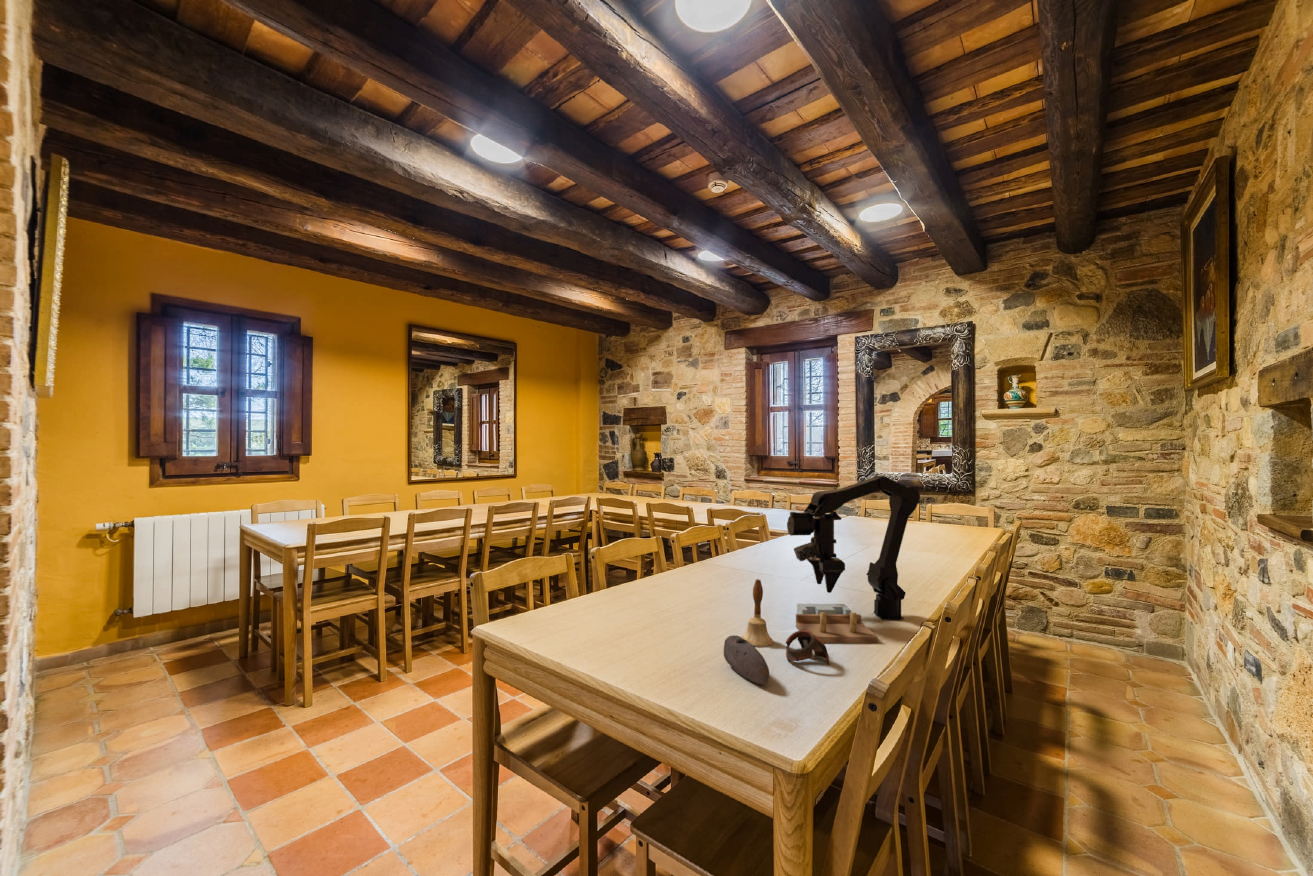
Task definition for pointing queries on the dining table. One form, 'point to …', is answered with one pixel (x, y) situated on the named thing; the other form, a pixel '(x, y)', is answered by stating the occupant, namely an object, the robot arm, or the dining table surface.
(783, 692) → the dining table surface
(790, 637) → the brown curved piece
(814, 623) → the board
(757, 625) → the hand bell
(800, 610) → the grey notched panel
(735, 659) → the perforated stone tool
